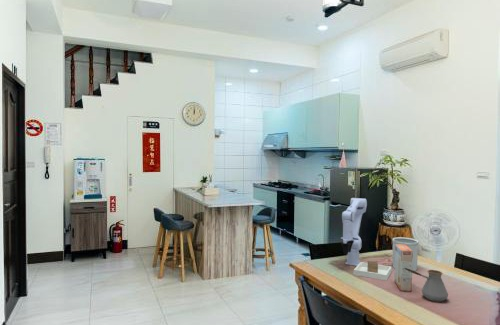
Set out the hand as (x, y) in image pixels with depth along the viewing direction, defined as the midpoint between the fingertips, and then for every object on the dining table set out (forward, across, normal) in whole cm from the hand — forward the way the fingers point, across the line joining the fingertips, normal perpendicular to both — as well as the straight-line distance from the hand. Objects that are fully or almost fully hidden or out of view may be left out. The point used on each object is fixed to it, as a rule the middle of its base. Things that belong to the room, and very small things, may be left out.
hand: (347, 253), depth 215 cm
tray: (+9, +1, +15) cm, 18 cm away
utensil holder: (+9, -19, +31) cm, 38 cm away
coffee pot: (+10, +28, +43) cm, 53 cm away
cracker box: (+10, +16, +33) cm, 38 cm away
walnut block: (+9, +1, +15) cm, 18 cm away
